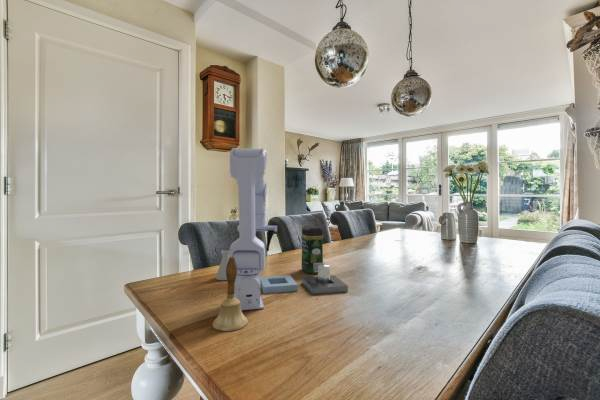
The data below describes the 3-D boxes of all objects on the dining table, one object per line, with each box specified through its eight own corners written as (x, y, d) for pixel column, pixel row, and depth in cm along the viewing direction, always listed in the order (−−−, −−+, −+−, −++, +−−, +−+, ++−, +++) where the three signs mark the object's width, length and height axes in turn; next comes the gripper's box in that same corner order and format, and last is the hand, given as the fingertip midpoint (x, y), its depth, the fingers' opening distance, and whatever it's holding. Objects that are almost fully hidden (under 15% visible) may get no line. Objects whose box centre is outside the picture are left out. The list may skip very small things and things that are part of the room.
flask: (238, 275, 108) (238, 249, 108) (231, 281, 101) (231, 253, 101) (219, 275, 109) (219, 249, 109) (211, 280, 102) (211, 252, 102)
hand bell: (233, 313, 75) (233, 252, 74) (255, 322, 69) (255, 257, 69) (205, 324, 68) (205, 257, 68) (226, 335, 63) (226, 263, 63)
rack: (297, 290, 92) (297, 284, 92) (263, 293, 89) (263, 287, 89) (290, 280, 103) (290, 275, 103) (259, 282, 100) (259, 277, 100)
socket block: (347, 291, 92) (347, 285, 92) (312, 294, 89) (312, 288, 89) (333, 280, 103) (334, 275, 103) (302, 282, 100) (302, 277, 100)
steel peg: (331, 288, 95) (331, 266, 94) (320, 289, 94) (320, 266, 93) (327, 284, 98) (327, 263, 98) (316, 285, 97) (316, 264, 97)
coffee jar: (299, 268, 119) (299, 224, 119) (316, 267, 122) (317, 224, 121) (306, 275, 110) (307, 227, 110) (325, 273, 112) (326, 226, 112)
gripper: (277, 213, 110) (277, 248, 110) (239, 213, 109) (239, 248, 109) (276, 214, 103) (276, 252, 103) (236, 214, 102) (236, 252, 102)
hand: (257, 250), depth 106 cm, fingers open, 7 cm apart
